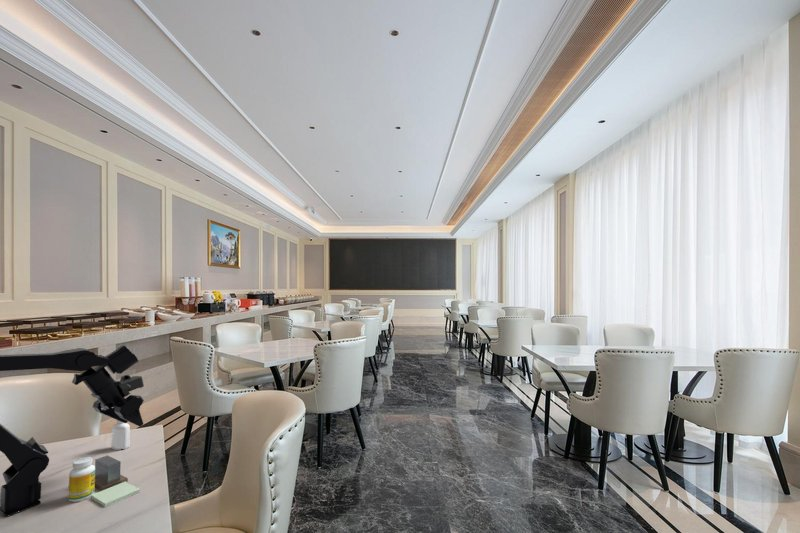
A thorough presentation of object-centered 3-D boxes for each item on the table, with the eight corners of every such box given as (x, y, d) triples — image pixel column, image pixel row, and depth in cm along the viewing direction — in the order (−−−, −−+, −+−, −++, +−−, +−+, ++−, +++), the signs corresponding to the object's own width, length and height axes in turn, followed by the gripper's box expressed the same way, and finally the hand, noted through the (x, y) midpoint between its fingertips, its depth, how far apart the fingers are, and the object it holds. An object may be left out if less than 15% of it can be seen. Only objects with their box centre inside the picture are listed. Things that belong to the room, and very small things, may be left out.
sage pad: (105, 507, 96) (105, 503, 96) (91, 498, 100) (91, 495, 100) (139, 492, 103) (139, 489, 103) (125, 484, 107) (125, 481, 107)
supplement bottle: (68, 496, 101) (69, 459, 102) (94, 489, 105) (95, 453, 105) (67, 505, 97) (69, 466, 98) (94, 497, 100) (95, 460, 101)
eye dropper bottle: (115, 452, 128) (116, 416, 128) (110, 447, 131) (111, 412, 132) (130, 448, 131) (131, 412, 132) (125, 443, 135) (126, 409, 135)
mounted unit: (102, 491, 103) (103, 469, 104) (86, 482, 108) (87, 460, 109) (127, 481, 108) (128, 460, 109) (111, 473, 114) (111, 452, 114)
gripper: (144, 367, 112) (173, 406, 118) (115, 365, 121) (143, 401, 127) (106, 395, 103) (139, 435, 109) (78, 391, 113) (110, 428, 119)
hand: (134, 423), depth 116 cm, fingers open, 9 cm apart
